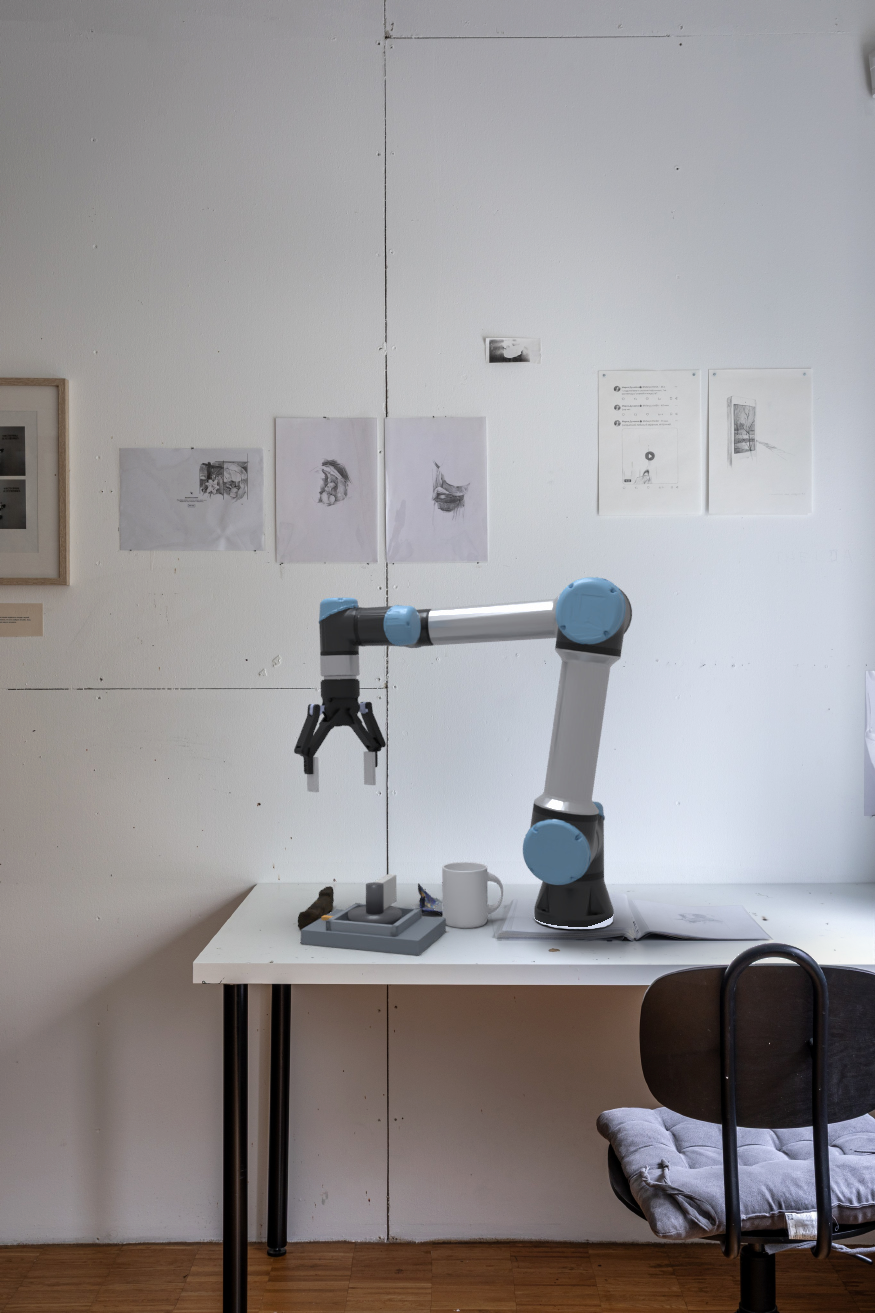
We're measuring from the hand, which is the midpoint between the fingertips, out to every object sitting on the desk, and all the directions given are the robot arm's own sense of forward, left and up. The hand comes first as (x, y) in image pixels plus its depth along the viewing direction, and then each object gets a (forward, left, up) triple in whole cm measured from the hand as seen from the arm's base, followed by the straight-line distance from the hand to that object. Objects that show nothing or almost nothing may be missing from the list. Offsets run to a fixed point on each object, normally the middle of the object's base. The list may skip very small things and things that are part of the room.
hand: (342, 788), depth 180 cm
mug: (-24, -7, -26) cm, 36 cm away
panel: (-10, +9, -26) cm, 29 cm away
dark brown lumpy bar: (+6, -1, -26) cm, 27 cm away
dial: (-10, +7, -23) cm, 26 cm away
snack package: (-15, -13, -26) cm, 33 cm away
